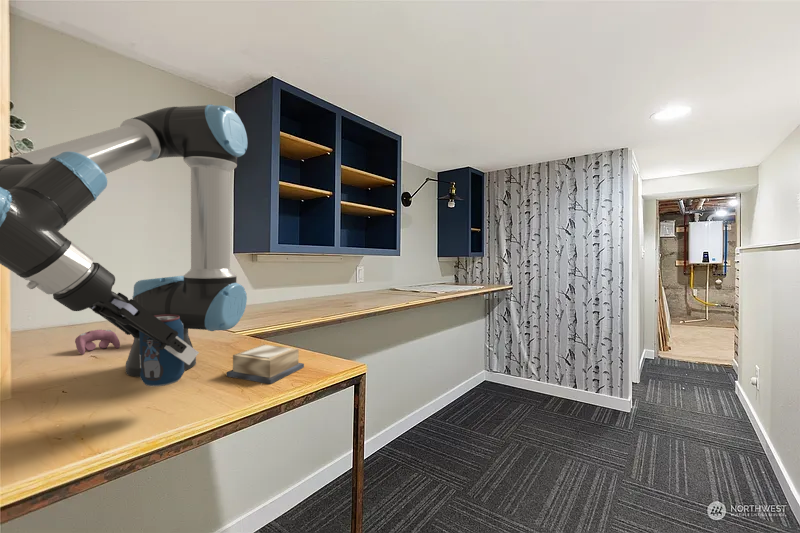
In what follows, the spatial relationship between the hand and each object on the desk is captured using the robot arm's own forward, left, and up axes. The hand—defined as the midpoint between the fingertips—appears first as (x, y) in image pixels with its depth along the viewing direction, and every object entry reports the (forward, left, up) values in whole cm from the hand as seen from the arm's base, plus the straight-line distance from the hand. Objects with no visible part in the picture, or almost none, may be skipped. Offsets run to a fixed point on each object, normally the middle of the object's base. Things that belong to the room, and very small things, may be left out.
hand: (181, 354), depth 73 cm
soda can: (-1, -3, -4) cm, 6 cm away
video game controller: (-55, +18, -11) cm, 59 cm away
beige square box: (+1, +23, -10) cm, 25 cm away
